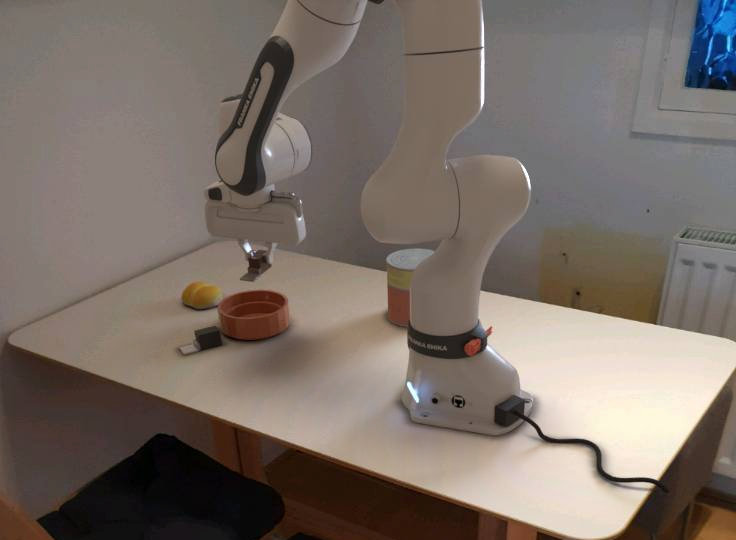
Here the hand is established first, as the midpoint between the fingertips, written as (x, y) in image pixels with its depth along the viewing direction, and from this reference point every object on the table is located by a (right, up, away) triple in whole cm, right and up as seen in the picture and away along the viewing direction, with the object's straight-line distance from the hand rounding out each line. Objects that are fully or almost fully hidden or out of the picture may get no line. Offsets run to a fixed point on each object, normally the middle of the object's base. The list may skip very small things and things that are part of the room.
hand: (259, 261), depth 160 cm
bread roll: (-15, -3, +19) cm, 24 cm away
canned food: (+31, -9, +8) cm, 33 cm away
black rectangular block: (-12, -17, +1) cm, 20 cm away
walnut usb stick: (-1, -2, 0) cm, 3 cm away
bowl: (-2, -11, +8) cm, 14 cm away
